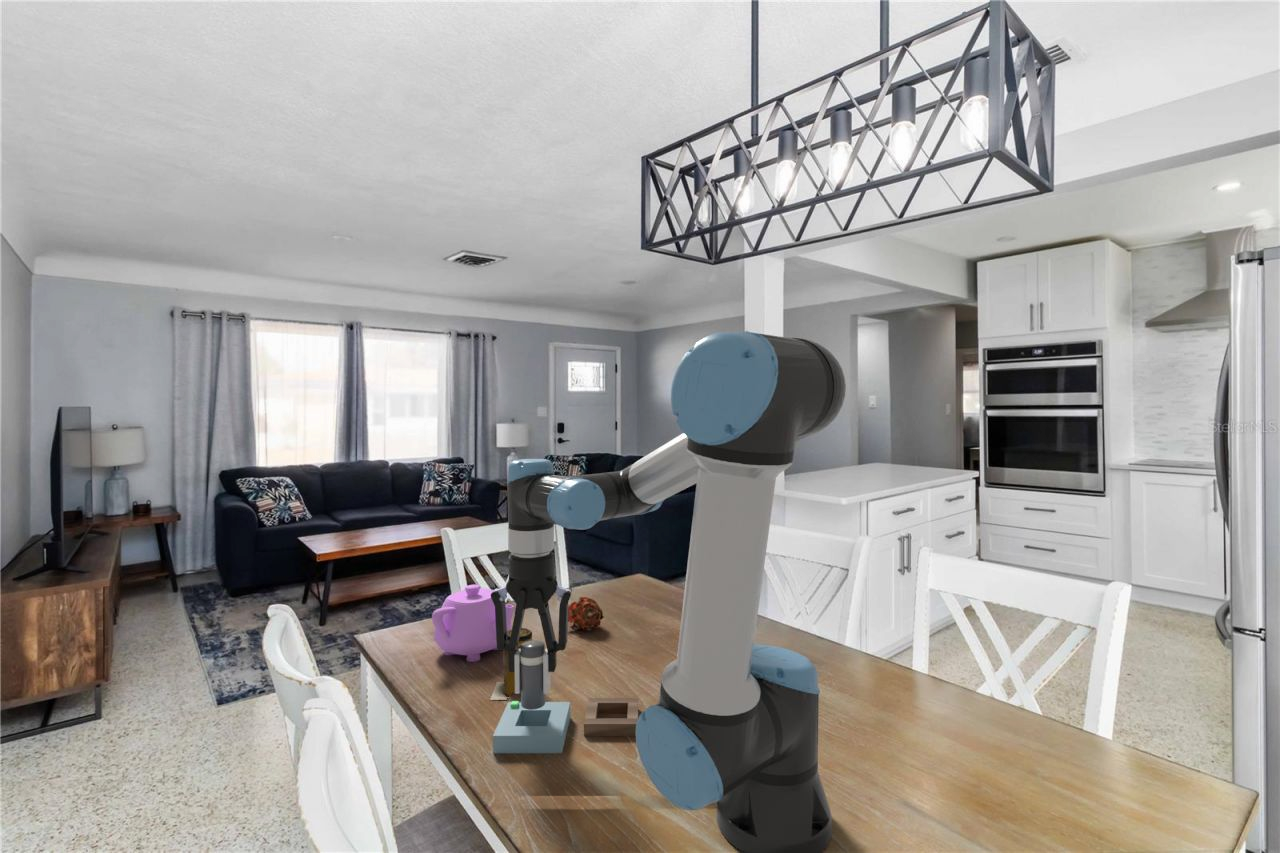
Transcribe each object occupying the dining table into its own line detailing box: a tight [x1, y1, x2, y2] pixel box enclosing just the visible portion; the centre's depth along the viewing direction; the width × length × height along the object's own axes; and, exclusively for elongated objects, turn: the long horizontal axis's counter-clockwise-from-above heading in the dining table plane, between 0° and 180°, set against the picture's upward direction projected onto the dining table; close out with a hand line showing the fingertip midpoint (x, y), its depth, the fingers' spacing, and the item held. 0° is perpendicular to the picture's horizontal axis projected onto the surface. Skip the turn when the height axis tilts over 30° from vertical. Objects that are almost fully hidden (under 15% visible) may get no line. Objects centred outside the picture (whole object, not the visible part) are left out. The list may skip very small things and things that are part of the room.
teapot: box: [431, 584, 516, 663], centre depth 139 cm, size 20×20×15 cm
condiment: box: [489, 627, 533, 701], centre depth 121 cm, size 7×8×12 cm
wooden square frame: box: [583, 697, 639, 737], centre depth 107 cm, size 9×9×3 cm
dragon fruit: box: [568, 596, 605, 631], centre depth 155 cm, size 8×8×12 cm
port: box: [492, 700, 571, 754], centre depth 103 cm, size 11×11×5 cm
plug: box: [520, 640, 546, 710], centre depth 103 cm, size 4×4×10 cm
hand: (532, 689), depth 103 cm, fingers closed on plug, 4 cm apart
